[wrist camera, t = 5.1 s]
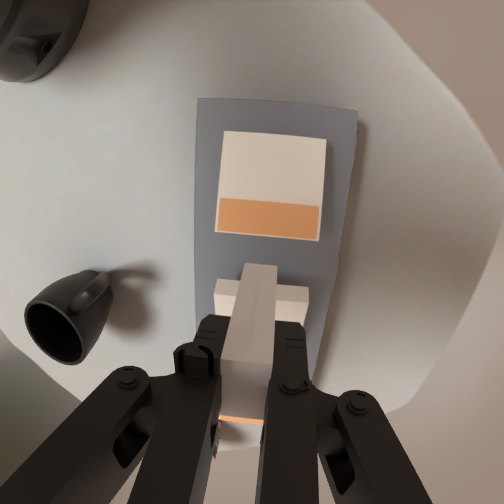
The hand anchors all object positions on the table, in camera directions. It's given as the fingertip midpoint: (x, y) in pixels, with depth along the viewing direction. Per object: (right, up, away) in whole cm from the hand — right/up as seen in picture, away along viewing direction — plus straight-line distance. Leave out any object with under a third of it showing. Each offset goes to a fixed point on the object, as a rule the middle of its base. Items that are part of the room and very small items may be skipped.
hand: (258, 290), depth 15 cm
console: (+1, -1, +18) cm, 18 cm away
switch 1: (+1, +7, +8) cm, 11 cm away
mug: (-18, -2, +20) cm, 27 cm away
